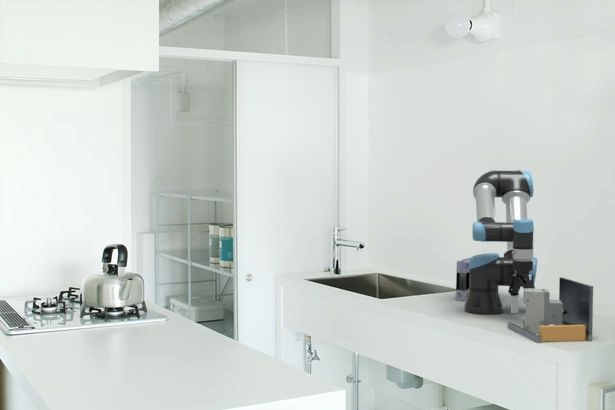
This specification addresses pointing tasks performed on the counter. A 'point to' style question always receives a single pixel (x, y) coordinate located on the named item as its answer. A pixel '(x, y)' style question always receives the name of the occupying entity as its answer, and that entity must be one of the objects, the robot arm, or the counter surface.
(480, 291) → the robot arm
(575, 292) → the dark grey piece
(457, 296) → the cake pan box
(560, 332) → the orange rectangular bar
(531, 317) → the circuit breaker
